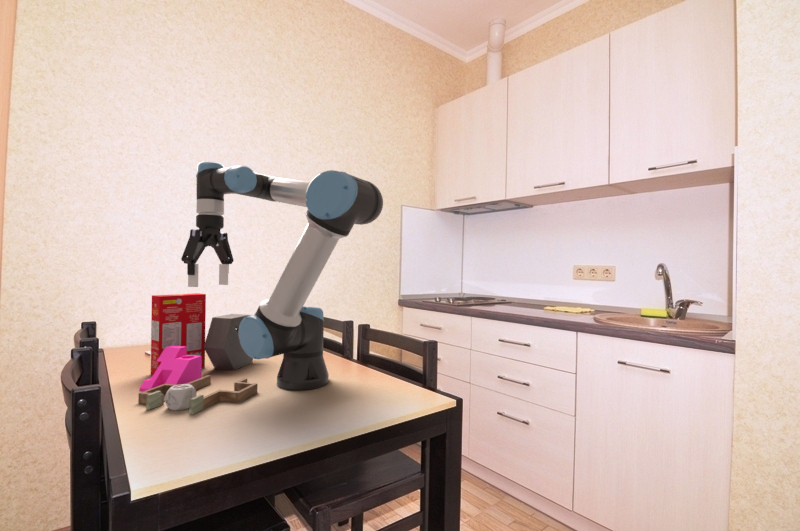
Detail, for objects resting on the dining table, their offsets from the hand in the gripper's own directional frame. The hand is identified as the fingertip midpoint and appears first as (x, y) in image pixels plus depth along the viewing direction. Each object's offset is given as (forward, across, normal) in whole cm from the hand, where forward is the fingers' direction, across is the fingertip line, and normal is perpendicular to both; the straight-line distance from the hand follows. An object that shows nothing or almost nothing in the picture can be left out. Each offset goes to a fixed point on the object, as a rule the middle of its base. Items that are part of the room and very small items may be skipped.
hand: (209, 285), depth 121 cm
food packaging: (+29, -8, -17) cm, 34 cm away
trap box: (+29, +13, +8) cm, 33 cm away
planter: (+29, -18, -4) cm, 34 cm away
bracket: (+29, +6, -7) cm, 31 cm away
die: (+29, +20, +8) cm, 36 cm away
